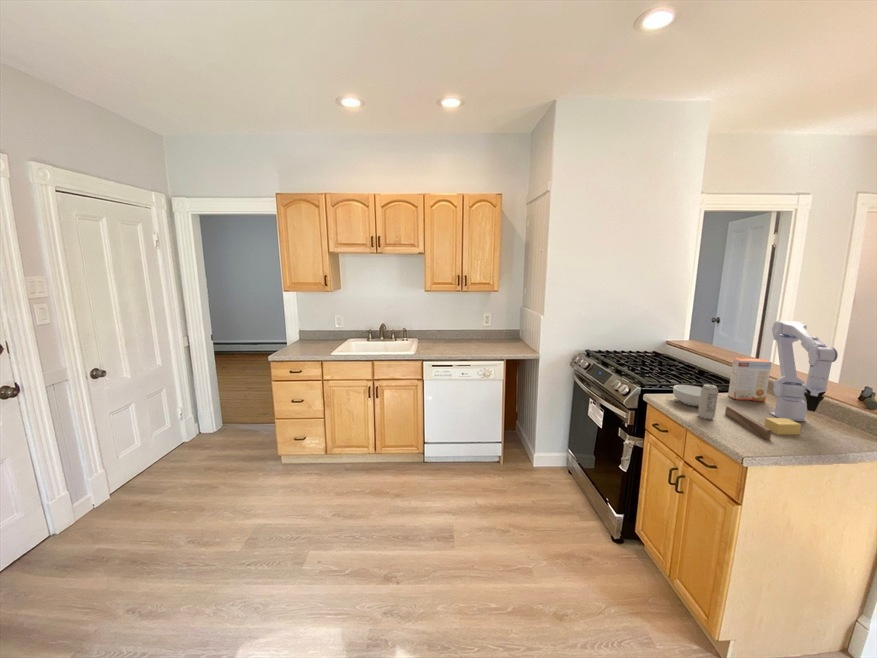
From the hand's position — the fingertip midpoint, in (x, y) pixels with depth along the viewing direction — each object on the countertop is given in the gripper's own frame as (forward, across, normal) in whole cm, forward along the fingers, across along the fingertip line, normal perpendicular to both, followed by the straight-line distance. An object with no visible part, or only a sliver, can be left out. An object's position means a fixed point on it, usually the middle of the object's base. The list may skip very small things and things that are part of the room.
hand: (811, 408), depth 146 cm
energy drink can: (+11, +14, -31) cm, 36 cm away
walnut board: (+10, +12, -18) cm, 24 cm away
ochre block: (+11, +6, -7) cm, 14 cm away
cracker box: (+10, -29, -24) cm, 39 cm away
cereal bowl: (+11, -1, -40) cm, 42 cm away
